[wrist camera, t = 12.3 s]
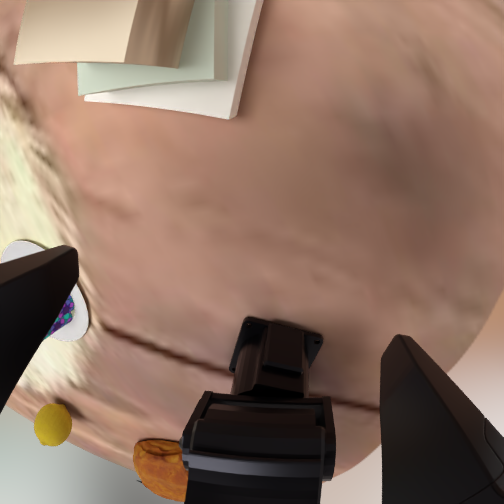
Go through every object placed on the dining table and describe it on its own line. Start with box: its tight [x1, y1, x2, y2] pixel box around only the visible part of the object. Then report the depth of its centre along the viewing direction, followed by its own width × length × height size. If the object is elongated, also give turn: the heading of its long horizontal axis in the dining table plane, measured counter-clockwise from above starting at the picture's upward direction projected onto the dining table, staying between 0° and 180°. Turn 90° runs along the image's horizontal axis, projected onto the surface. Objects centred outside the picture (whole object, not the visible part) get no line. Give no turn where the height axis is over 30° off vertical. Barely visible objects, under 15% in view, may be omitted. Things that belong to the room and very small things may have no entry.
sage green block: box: [77, 0, 228, 96], centre depth 12 cm, size 7×7×3 cm
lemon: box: [34, 403, 72, 446], centre depth 35 cm, size 6×6×8 cm
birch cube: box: [14, 0, 195, 69], centre depth 9 cm, size 5×5×5 cm
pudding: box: [1, 240, 89, 341], centre depth 25 cm, size 12×12×5 cm
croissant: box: [133, 440, 188, 502], centre depth 38 cm, size 14×16×8 cm
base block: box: [85, 0, 264, 120], centre depth 15 cm, size 9×9×3 cm
